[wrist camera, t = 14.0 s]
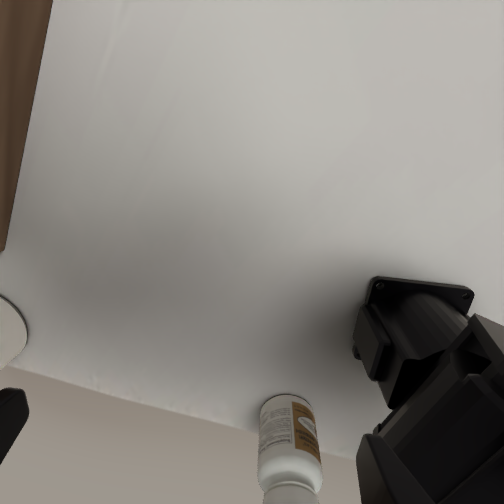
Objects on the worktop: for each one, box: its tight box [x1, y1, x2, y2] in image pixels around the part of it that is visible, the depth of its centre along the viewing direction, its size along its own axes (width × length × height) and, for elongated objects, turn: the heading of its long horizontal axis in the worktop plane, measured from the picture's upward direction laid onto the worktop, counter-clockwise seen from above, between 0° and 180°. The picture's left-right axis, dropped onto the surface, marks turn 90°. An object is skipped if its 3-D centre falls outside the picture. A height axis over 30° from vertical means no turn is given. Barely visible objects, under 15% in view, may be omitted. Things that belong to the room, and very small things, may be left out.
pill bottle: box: [258, 395, 323, 504], centre depth 22 cm, size 4×4×8 cm
